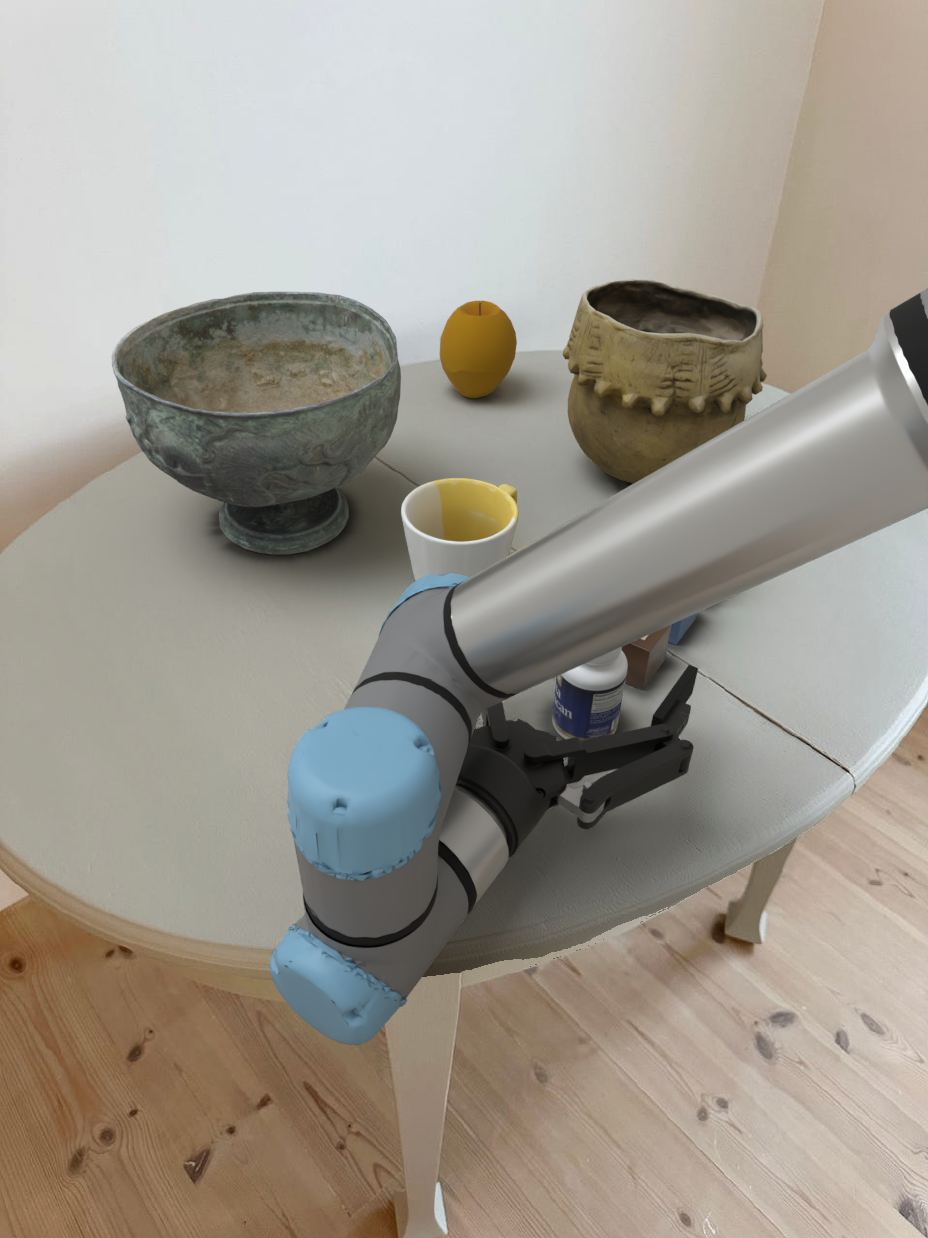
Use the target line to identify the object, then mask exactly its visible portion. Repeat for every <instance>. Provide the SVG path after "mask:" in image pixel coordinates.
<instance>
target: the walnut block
mask: <svg viewBox="0 0 928 1238" xmlns="http://www.w3.org/2000/svg"><path fill="white" fill-rule="evenodd" d="M671 626H672V624H671V625H669V626H667V627H665V628H662V629H660V630H658V631H656V632H654V633H651V634H649V635H647V636H645V637H643V638H640V639H638V640H636V641H634V642H631V643H629V644H627V645H625V646H623V647H622V651H623V653H624V654H625V656H626V659H627V663H628V668H627V676H626V682H625V684H627V685H629V686H632V687H634V688H636V689H639V690H641V691H644V689H645V687H646V686H647V685H648V683H650V681H651V680H652V678H653V676H655V674H656V673H657V672H658V670H659V669H660V667H661V666H662V665H663V663H664V662H665V659H666V655H667V650H668V645H669V642H668V641H669V636H670V631H671Z"/></svg>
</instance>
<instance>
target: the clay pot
mask: <svg viewBox="0 0 928 1238" xmlns="http://www.w3.org/2000/svg"><path fill="white" fill-rule="evenodd" d="M763 329H764V319H763V315H762V313H761V312H760V310H759V309H758V308H756V306H754V305H750V304H743V303H740V302H737V301H736V300H732V299H729V298H726V297H723V296H718V295H715V294H711V293H708V292H704V291H699V290H697V289H692V288H687V287H679V286H675V285H672V284H668V283H666V282H665V283H664V282H660V281H656V280H653V279H635V278H631V279H624V280H615V281H607V282H604V283H602V284H598V285H595V286H592V287H590V288H588V289H587V290H585V291H584V292H583V293H582V294H581V298H580V300H579V303H578V306H577V309H576V313H575V316H574V319H573V323H572V326H571V330H570V332H569V336H568V340H567V344H566V345H565V346H564V348H563V351H562V357H563V358H564V360H567V361H568V362H567V368H568V371H569V373H570V374H573V375H574V377H573V379H572V381H571V384H570V388H569V391H568V397H567V418H568V423H569V427H570V429H571V432H572V434H573V437H574V438H575V441H576V443H577V444H578V445H579V447H580V449H581V450H582V452H583V453H584V454H585V456H586V457H587V458H588V459H589V460H590V462H592V464H593V465H594V466H596V467H597V468H598V469H600V471H602V472H603V473H604V474H607V475H609V476H612V477H614V478H615V479H618V480H620V481H623V482H627V483H631V484H634V483H636V482H638V481H639V480H641V479H643V478H645V477H646V476H648V475H650V474H652V473H653V472H655V471H657V470H659V469H660V468H662V467H664V466H666V465H667V464H669V463H671V462H673V461H674V460H676V459H678V458H680V457H681V456H683V455H685V454H686V453H688V452H690V451H692V450H693V449H695V448H697V447H699V446H700V445H702V444H704V443H706V442H707V441H709V440H711V439H713V438H714V437H716V436H718V435H720V434H721V433H723V432H725V431H727V430H728V429H730V428H732V427H734V426H735V425H737V424H739V423H741V422H742V421H744V420H746V419H745V418H746V410H747V405H748V404H749V403H751V402H752V400H753V399H754V398H753V395H758V394H759V393H761V392H763V387H764V386H763V384H762V383H763V382H765V381H766V379H767V377H768V375H767V373H766V372H765V370H764V369H763V365H764V363H763V359H762V356H763V353H764V342H763V339H764V338H763V333H764V332H763Z"/></svg>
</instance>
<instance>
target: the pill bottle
mask: <svg viewBox="0 0 928 1238" xmlns="http://www.w3.org/2000/svg"><path fill="white" fill-rule="evenodd" d="M627 668H628V663H627V659H626V656H625V654H624V653H623V651H622V647H620V648H618V649H616V650H614V651H612V652H609V653H607V654H605V655H603V656H601V657H598V658H596V659H594V660H592V661H589V662H587V663H585V664H583V665H581V666H578V667H576V668H574V669H572V670H570V671H567V672H565V673H563V674H561V675H559V676H556V677H555V683H554V691H553V692H554V693H553V694H554V695H553V700H552V709H551V711H552V712H551V721H552V722H551V723H552V725H553V728H554V729H555V731H556V732H557V734H558V735H559V736H560V737H561V738H563V740H565V739H570V738H575V737H577V738H579V739H580V740H588V739H592V738H597V737H602V736H607V735H611V734H616V731H617V728H618V725H619V721H620V715H621V709H622V704H623V700H624V699H623V698H624V692H625V687H626V683H625V682H626V676H627Z"/></svg>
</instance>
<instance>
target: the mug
mask: <svg viewBox="0 0 928 1238" xmlns="http://www.w3.org/2000/svg"><path fill="white" fill-rule="evenodd" d="M400 508H401V509H400V516H401V521H402V526H403V531H404V536H405V542H406V546H407V550H408V555H409V559H410V564H411V569H412V574H413V578H414V582H415V581H417V580H418V579H420V578H422V577H424V576H427V575H431V574H435V575H447V574H449V573H453V574H460V575H463V576H467V577H469V578H470V577H471V576H473V575H475V574H477V573H478V572H480V571H482V570H484V569H485V568H487V567H489V566H491V565H492V564H494V563H496V562H498V561H499V560H501V559H503V558H505V557H506V556H508V555H510V552H511V548H512V545H513V541H514V537H515V533H516V529H517V524H518V521H519V507H518V490H517V488H515V487H513V486H512V485H509V484H507V483H503V484H500V485H499V486H498V485H495V484H493V483H490V482H487V481H484V480H480V479H474V478H464V477H451V478H450V477H449V478H441V479H436V480H432V481H428V482H426V483H423V484H422V485H418V486H417V487H416V488H414V489H412V490H411V491H410V492H409V493H408V494H407V495H406V497H405V498H404V500H403V501H402V504H401V507H400Z"/></svg>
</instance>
